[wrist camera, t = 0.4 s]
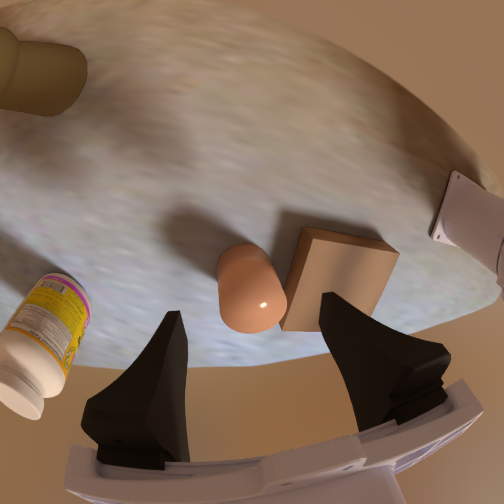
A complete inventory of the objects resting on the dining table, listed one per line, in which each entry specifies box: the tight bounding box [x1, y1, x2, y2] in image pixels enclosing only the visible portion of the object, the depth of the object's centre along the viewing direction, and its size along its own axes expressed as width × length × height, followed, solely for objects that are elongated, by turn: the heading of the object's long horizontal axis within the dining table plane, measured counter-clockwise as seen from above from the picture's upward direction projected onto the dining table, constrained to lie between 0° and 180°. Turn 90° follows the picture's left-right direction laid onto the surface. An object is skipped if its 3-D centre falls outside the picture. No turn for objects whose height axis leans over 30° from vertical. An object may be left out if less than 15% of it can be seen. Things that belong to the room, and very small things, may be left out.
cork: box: [0, 27, 87, 116], centre depth 8 cm, size 6×6×11 cm
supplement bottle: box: [0, 273, 91, 420], centre depth 16 cm, size 7×7×13 cm
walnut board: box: [279, 227, 400, 332], centre depth 24 cm, size 9×9×2 cm
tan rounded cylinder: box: [217, 244, 287, 333], centre depth 21 cm, size 5×5×6 cm
